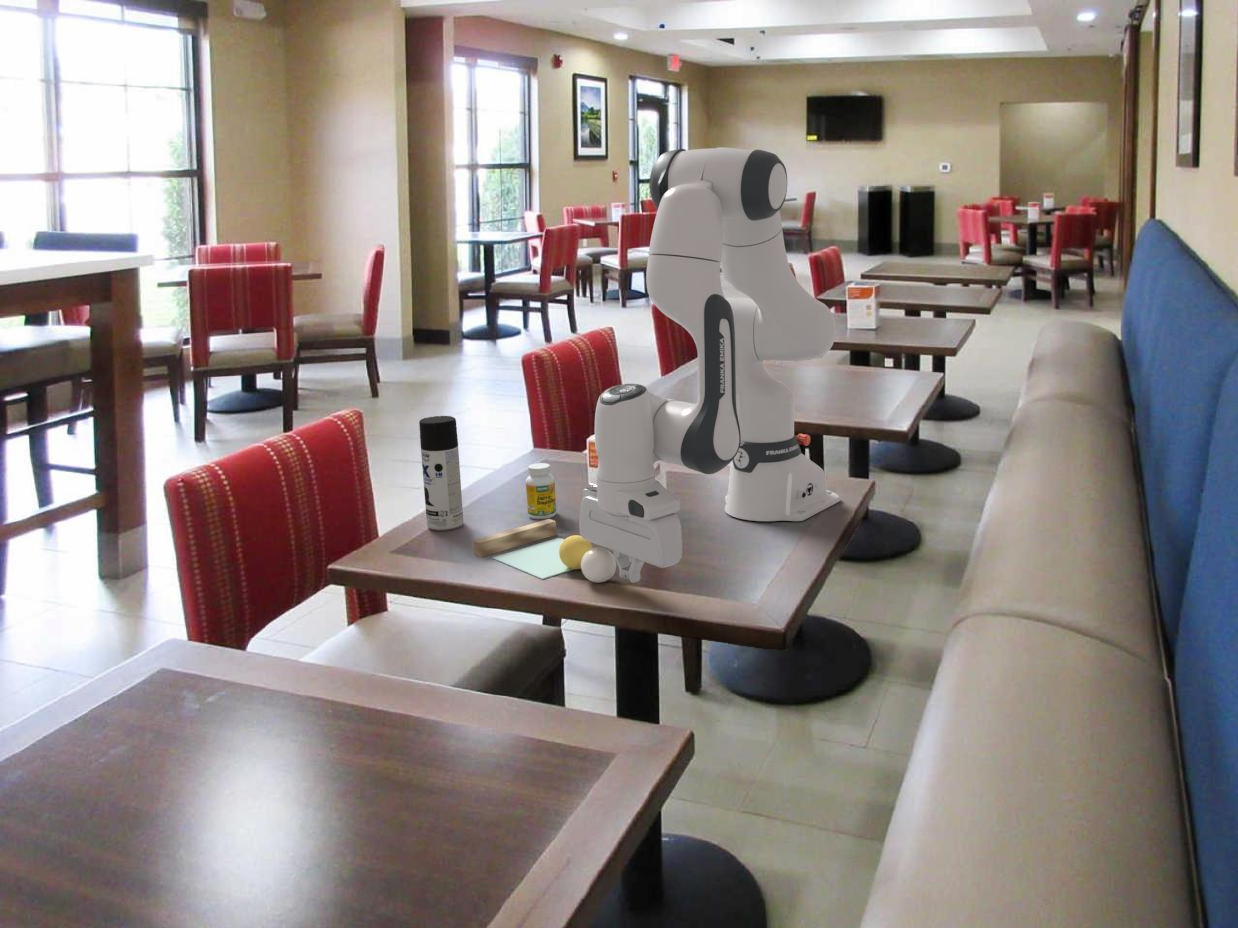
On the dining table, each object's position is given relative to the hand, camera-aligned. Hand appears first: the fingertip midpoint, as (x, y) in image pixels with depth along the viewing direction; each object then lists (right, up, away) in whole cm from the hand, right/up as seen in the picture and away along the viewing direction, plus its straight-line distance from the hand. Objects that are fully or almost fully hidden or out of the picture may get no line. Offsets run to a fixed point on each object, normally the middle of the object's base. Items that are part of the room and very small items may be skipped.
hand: (629, 579), depth 179 cm
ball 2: (-5, +2, +3) cm, 6 cm away
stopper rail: (-19, +4, +23) cm, 30 cm away
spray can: (-33, +6, +34) cm, 48 cm away
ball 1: (-9, +3, +9) cm, 13 cm away
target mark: (-13, +2, +15) cm, 20 cm away
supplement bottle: (-16, +8, +38) cm, 42 cm away
